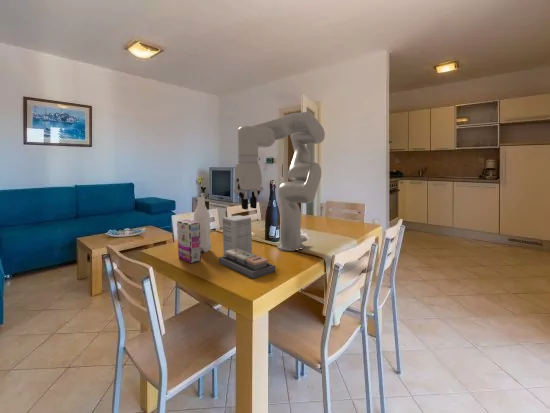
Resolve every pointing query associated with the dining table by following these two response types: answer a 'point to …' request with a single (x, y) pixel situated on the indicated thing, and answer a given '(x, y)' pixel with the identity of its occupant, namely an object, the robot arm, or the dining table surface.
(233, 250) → the tile
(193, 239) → the candy bar box
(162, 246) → the dining table surface
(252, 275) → the gray rectangular tray
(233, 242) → the supplement box
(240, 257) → the tile
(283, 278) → the dining table surface
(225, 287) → the dining table surface
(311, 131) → the robot arm
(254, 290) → the dining table surface
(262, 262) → the tile
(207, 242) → the water bottle
